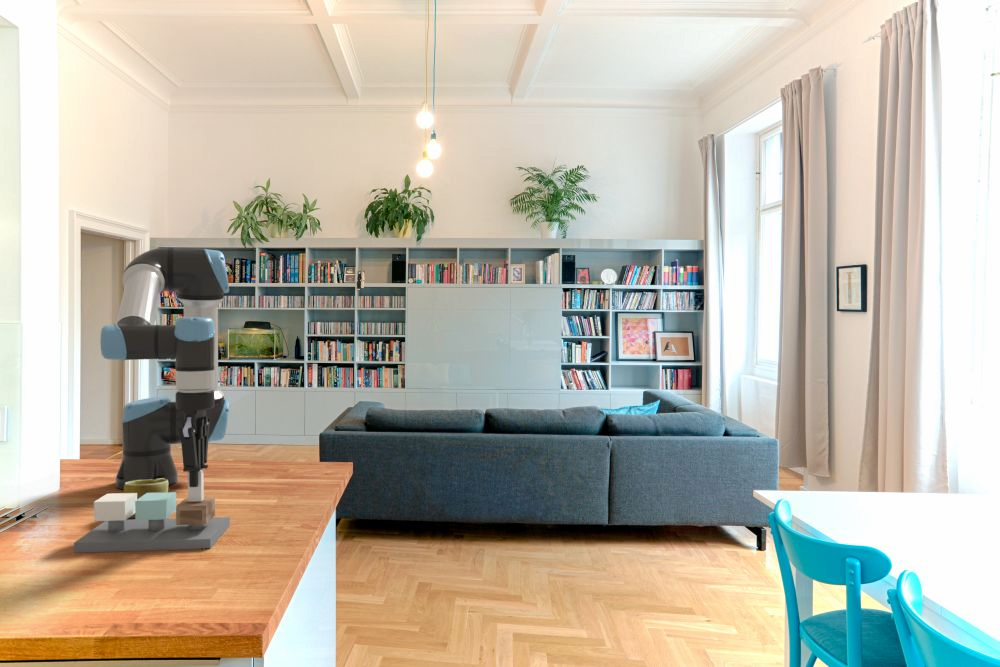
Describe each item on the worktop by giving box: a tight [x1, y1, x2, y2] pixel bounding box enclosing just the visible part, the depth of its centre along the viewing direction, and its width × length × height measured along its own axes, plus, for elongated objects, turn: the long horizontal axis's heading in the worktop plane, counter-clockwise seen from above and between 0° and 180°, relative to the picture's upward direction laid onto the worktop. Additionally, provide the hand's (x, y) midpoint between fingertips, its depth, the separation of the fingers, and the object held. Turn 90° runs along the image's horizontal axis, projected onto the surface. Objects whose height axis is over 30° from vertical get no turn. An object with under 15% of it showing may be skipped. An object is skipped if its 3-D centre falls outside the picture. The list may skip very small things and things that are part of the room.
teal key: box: [135, 491, 177, 520], centre depth 141 cm, size 6×6×4 cm
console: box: [73, 516, 231, 553], centre depth 142 cm, size 14×26×5 cm, turn 97°
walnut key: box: [175, 496, 216, 525], centre depth 142 cm, size 6×6×4 cm
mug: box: [123, 478, 169, 520], centre depth 158 cm, size 12×10×10 cm
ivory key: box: [93, 492, 137, 522], centre depth 140 cm, size 6×6×4 cm
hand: (195, 500), depth 142 cm, fingers closed
